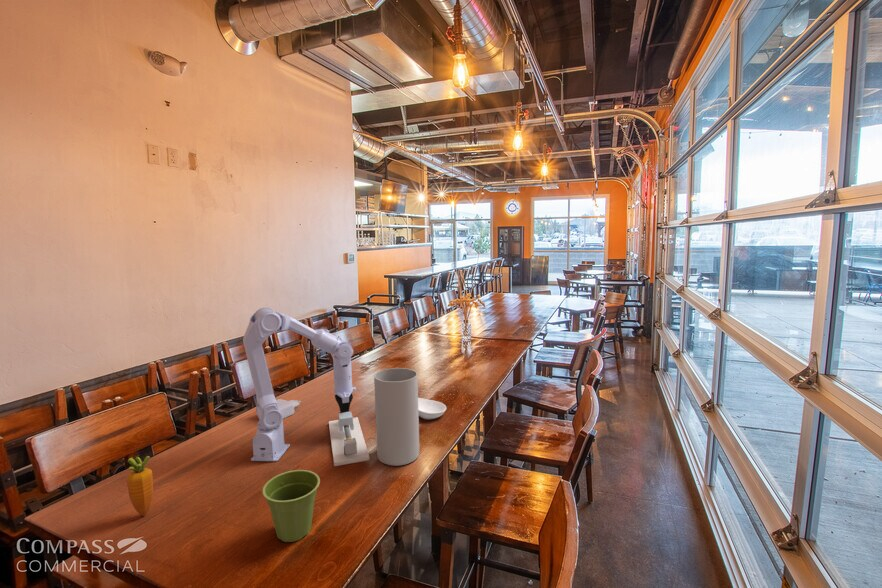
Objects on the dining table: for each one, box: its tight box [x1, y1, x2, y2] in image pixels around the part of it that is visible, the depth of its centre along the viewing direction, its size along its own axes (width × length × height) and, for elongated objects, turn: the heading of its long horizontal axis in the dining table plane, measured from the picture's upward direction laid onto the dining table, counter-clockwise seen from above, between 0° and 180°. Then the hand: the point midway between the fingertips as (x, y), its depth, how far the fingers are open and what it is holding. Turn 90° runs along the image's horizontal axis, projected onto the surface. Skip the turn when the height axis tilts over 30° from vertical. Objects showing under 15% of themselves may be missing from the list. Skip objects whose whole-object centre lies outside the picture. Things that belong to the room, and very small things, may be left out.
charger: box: [257, 398, 302, 420], centre depth 156 cm, size 5×9×15 cm
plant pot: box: [262, 469, 321, 543], centre depth 92 cm, size 12×12×11 cm
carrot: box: [126, 455, 154, 517], centre depth 97 cm, size 5×5×15 cm
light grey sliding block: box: [337, 410, 354, 432], centre depth 135 cm, size 5×4×4 cm
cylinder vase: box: [373, 367, 420, 467], centre depth 122 cm, size 12×12×25 cm
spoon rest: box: [418, 397, 447, 420], centre depth 152 cm, size 24×12×7 cm, turn 81°
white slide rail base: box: [328, 411, 370, 467], centre depth 134 cm, size 29×10×6 cm, turn 18°
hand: (344, 415), depth 139 cm, fingers closed
